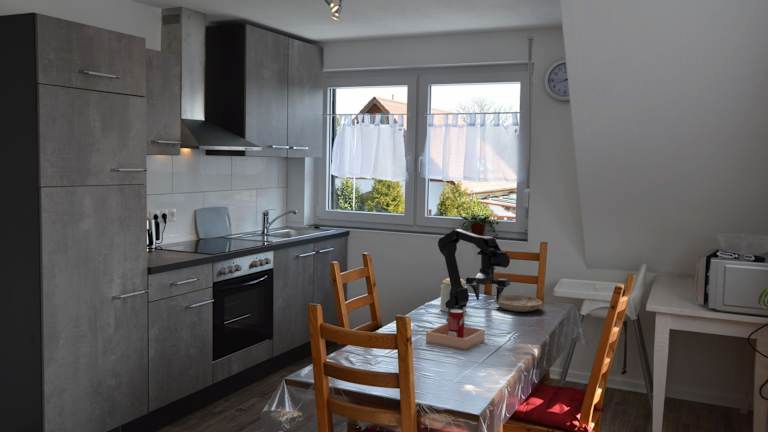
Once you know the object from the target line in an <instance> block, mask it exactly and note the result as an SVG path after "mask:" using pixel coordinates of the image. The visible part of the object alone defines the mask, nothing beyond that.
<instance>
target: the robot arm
mask: <svg viewBox="0 0 768 432" xmlns="http://www.w3.org/2000/svg"><path fill="white" fill-rule="evenodd" d="M460 241H464V242H466V243H470V244H471V245H472V244H473V245H475V247H476V249H479V251H478V252H477V254H476V255H479V256H480V268H479V272H478V273H477V274H476V275H475V276H473V275H471V276H467V277H466V278H465V282H466V283H465V285H468V286H469V287H471V288H472V290H473V293H474V295H475V298H476V301H479V300H480V288H481V287H480V285H482V286H485V285H487V284H489V285H491V284H492V285H496V287H495V289H496V296H497V297H496V296H495V297H496V300H497V302H498V301H499V299H500V296H501V295H503V292H504V290H505V288H507V287H508V286H510V285H511V281H510V279H509V278H498V279H496V276H495V270H496V268H503V269H505V268H508V267H509V266H510V264H511V259H510V257H509V255H508V254H507V251H502V249H501V248H500V246H499V244H498V242H497V239H496V238H495V237H494V236H488V235H478V234H475V233H474V232H473V233H472V232H470V231H466V230H463V229H461V228H455V229H453V230H451V231H450V232H449V233H446V234H445V235H443V236H442V237H439V239H438V241H437V246H438V249H439V252H440V253H441V255H442V256H443V257H444V260H445V265H446V270H447V274H448V278H449V279H450V284H451V290H450V293H449V295H450V299H449V300H448V301H447V302H446V303H445V305H446V308H448V312H447V315H448V314H449V312H450V310H451V309H460V310H463V307H466V306H467V305H468V302H469V300H470V299H469V298H470V294H469V290H468V287H467V288H464V287H463V286H462V284H461V279H462V278H461V275H460V270H459V266H458V262H457V258H456V253H457V249H458V247H457V245H458V244H459V243H460ZM466 308H467V307H466ZM463 313H464V314H465V312H464V311H463ZM446 321H447V322H448V318H447V319H446ZM464 321H465V318H464Z"/></svg>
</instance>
